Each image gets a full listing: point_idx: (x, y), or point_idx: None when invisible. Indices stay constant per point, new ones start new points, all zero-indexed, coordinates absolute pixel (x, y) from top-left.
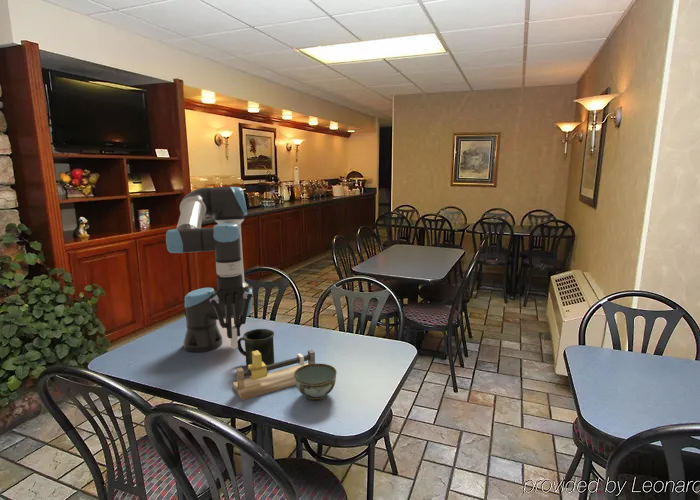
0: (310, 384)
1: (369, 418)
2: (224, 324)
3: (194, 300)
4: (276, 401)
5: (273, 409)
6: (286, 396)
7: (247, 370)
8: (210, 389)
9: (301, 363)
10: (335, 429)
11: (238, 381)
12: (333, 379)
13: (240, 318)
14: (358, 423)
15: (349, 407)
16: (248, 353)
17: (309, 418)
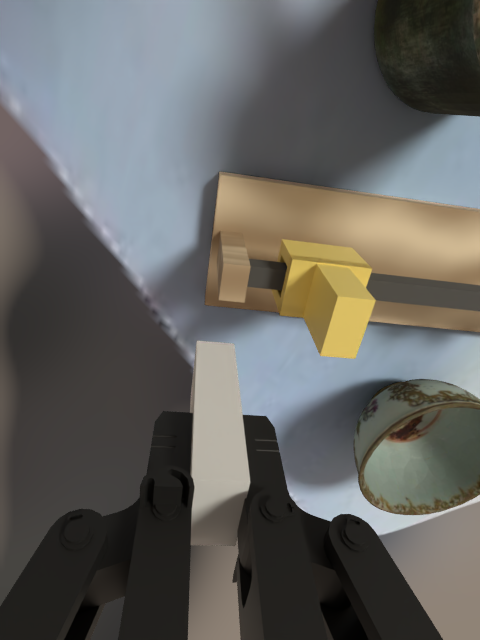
0: (369, 501)
1: (401, 520)
2: (86, 619)
3: None
4: (292, 366)
5: (260, 394)
6: (333, 359)
7: (273, 272)
8: (118, 120)
9: None
10: (322, 515)
11: (219, 259)
12: (443, 500)
13: (343, 584)
14: (371, 521)
15: None
16: (416, 20)
17: (308, 467)
